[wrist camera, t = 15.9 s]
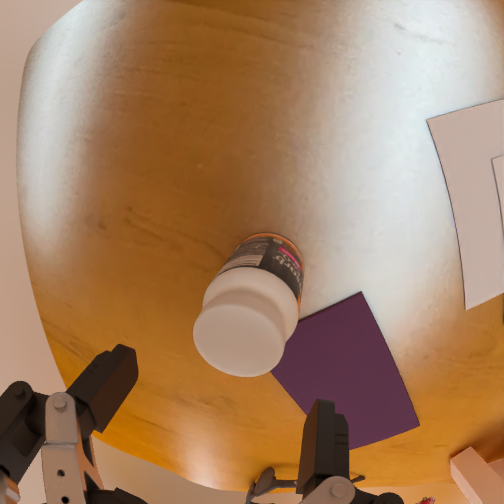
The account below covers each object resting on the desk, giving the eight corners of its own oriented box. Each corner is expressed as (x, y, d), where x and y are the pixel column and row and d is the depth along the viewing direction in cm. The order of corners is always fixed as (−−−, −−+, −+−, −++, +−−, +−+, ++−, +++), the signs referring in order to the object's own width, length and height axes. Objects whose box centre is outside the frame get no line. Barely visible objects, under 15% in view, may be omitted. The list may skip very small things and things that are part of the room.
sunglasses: (269, 456, 33) (267, 486, 29) (368, 464, 34) (372, 489, 29) (239, 487, 40) (236, 509, 35) (322, 496, 40) (322, 516, 36)
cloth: (248, 340, 26) (247, 343, 26) (361, 291, 22) (361, 293, 22) (340, 450, 31) (339, 452, 30) (419, 423, 27) (419, 426, 26)
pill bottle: (316, 282, 23) (313, 371, 14) (252, 306, 25) (219, 392, 16) (284, 218, 21) (262, 277, 12) (219, 248, 23) (162, 315, 14)
